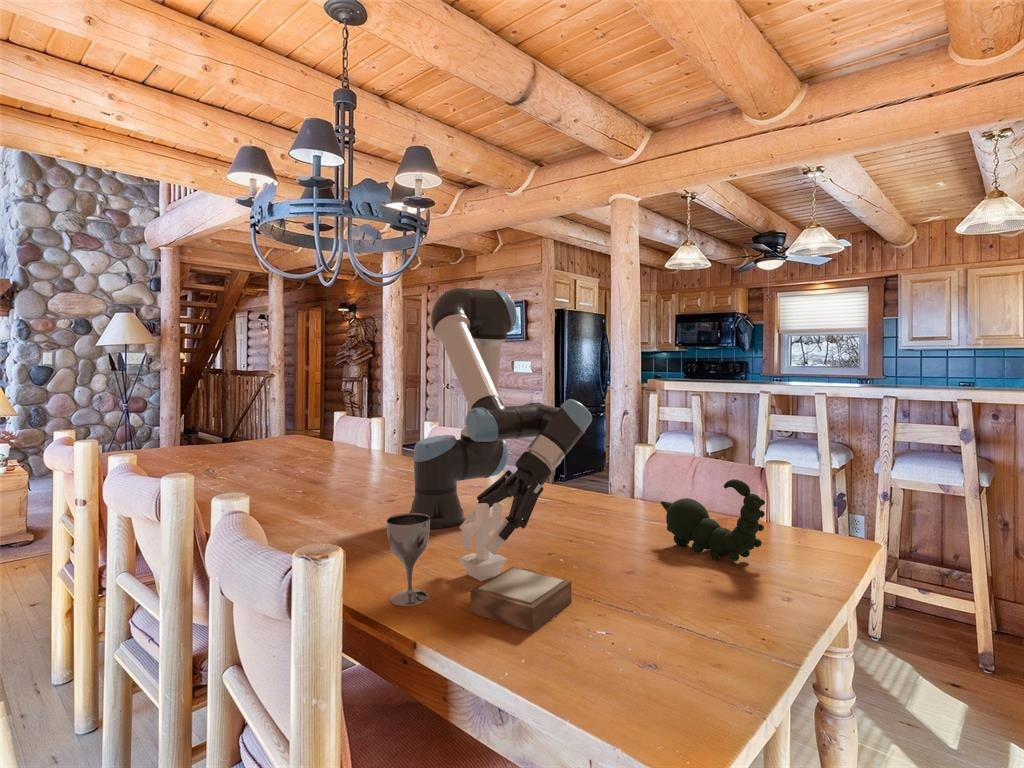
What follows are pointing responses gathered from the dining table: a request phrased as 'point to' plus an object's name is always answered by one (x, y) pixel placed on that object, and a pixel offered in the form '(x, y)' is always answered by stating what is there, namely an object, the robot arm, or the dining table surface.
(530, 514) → the robot arm
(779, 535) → the dining table surface
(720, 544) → the toy figurine
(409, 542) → the wine glass
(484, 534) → the figurine
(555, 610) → the walnut pedestal
